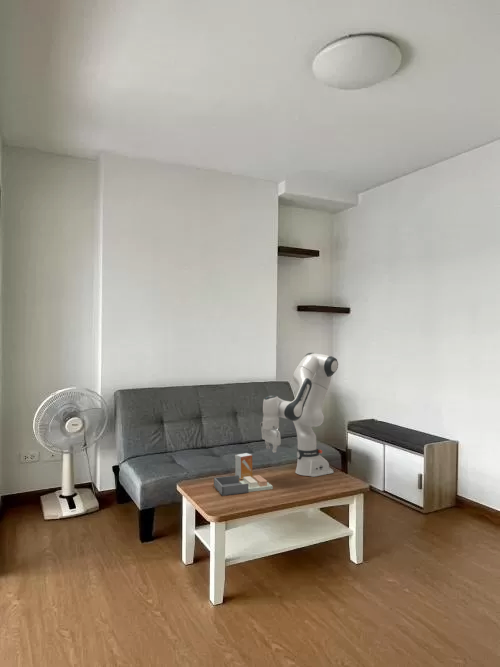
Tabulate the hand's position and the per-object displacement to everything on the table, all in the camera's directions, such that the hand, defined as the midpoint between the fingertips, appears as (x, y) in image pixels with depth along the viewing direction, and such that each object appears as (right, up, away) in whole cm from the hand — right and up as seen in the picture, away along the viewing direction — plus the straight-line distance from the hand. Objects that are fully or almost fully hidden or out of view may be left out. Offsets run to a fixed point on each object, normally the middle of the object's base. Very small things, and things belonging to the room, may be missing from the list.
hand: (271, 450), depth 257 cm
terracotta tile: (-6, -17, -3) cm, 18 cm away
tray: (-22, -19, -8) cm, 30 cm away
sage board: (-9, -19, -3) cm, 21 cm away
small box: (-15, -19, +15) cm, 29 cm away
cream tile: (-11, -17, -4) cm, 21 cm away
